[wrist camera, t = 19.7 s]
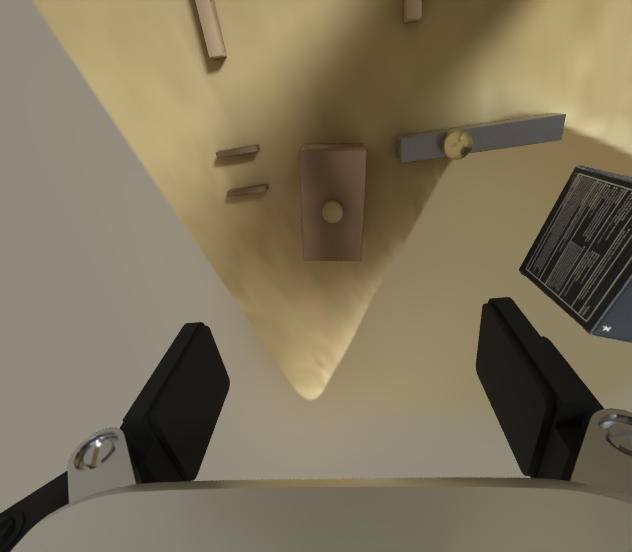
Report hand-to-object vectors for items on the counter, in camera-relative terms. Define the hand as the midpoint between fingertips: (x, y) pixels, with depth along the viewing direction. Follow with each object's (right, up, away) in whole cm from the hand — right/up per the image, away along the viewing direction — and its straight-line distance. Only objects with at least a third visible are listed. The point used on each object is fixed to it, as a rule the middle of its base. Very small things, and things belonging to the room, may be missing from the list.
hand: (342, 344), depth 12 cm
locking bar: (+12, +14, +16) cm, 25 cm away
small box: (+23, +7, +20) cm, 31 cm away
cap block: (+1, +10, +19) cm, 22 cm away
